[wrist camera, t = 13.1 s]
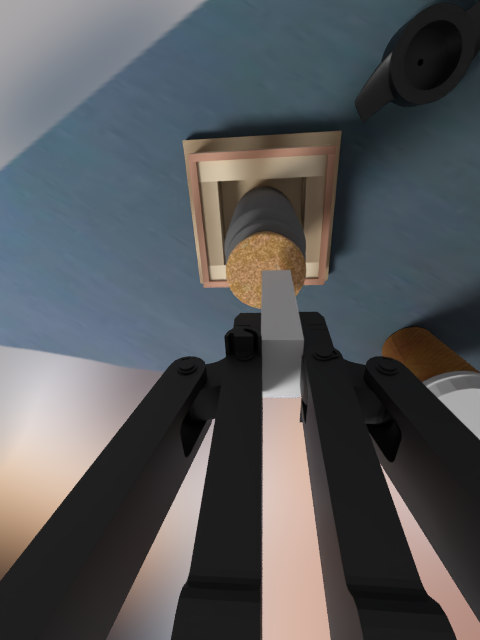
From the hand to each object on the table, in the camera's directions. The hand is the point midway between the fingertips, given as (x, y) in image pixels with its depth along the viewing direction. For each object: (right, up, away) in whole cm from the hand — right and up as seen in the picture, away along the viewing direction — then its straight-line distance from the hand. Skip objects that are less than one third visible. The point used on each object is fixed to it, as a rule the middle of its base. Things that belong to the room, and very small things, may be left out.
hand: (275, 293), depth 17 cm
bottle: (0, +9, +14) cm, 17 cm away
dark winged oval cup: (+13, +20, +9) cm, 25 cm away
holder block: (0, +9, +15) cm, 18 cm away
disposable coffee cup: (+19, -5, +22) cm, 30 cm away
